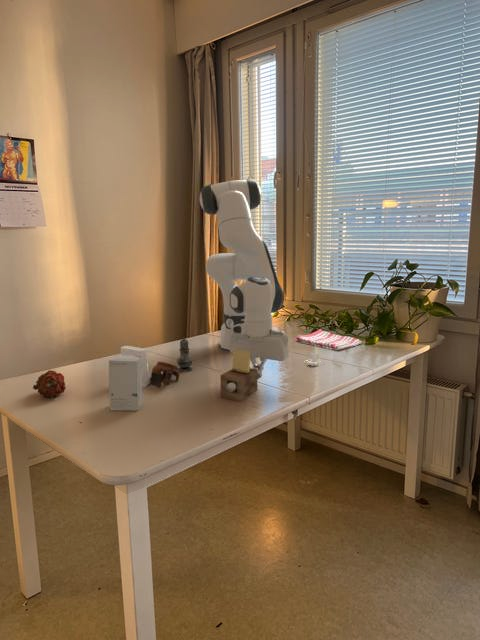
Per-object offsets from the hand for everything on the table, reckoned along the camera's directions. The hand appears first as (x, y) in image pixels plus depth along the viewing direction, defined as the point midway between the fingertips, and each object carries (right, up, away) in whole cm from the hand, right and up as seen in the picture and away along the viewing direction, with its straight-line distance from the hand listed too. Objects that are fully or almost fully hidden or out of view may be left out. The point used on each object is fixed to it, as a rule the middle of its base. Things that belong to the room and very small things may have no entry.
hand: (258, 370), depth 152 cm
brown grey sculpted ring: (-31, -5, +2) cm, 31 cm away
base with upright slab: (-40, -5, +2) cm, 41 cm away
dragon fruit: (-64, -7, -8) cm, 65 cm away
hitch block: (-6, -7, -8) cm, 12 cm away
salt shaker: (-26, -2, +17) cm, 31 cm away
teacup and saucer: (+19, -1, +23) cm, 30 cm away
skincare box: (-38, -9, -17) cm, 43 cm away
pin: (-5, -4, -7) cm, 9 cm away
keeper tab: (-6, +4, -10) cm, 12 cm away
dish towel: (+32, +6, +52) cm, 62 cm away
